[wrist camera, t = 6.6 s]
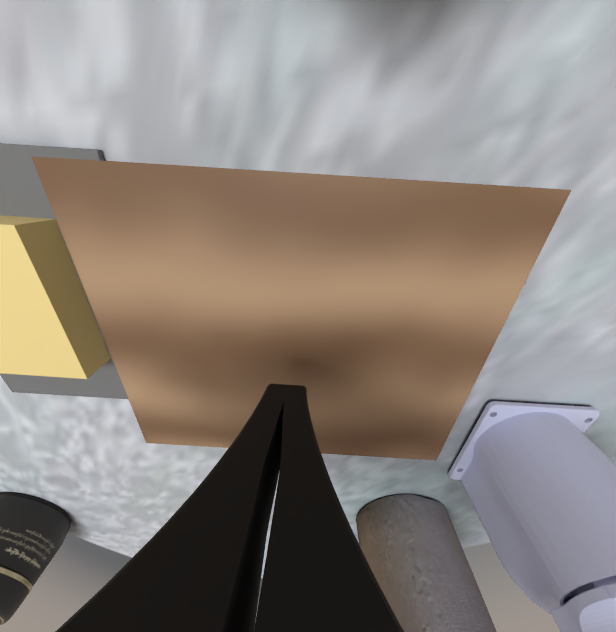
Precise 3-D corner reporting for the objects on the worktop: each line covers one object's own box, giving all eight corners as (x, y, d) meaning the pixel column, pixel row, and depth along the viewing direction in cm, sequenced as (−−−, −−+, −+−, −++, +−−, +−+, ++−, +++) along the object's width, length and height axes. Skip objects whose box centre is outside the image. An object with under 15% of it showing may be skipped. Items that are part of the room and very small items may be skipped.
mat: (172, 398, 19) (170, 401, 19) (16, 389, 19) (12, 392, 19) (101, 150, 12) (96, 149, 11) (-159, 133, 12) (-170, 132, 11)
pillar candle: (367, 541, 30) (411, 824, 17) (344, 501, 26) (380, 840, 12) (451, 529, 28) (573, 834, 15) (442, 484, 24) (602, 856, 11)
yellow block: (-11, 372, 15) (22, 352, 17) (87, 379, 15) (110, 358, 17) (-123, 215, 11) (-63, 210, 13) (13, 225, 11) (55, 218, 13)
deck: (413, 408, 19) (436, 460, 15) (177, 394, 19) (146, 442, 15) (495, 187, 12) (571, 190, 8) (115, 163, 12) (30, 156, 8)
